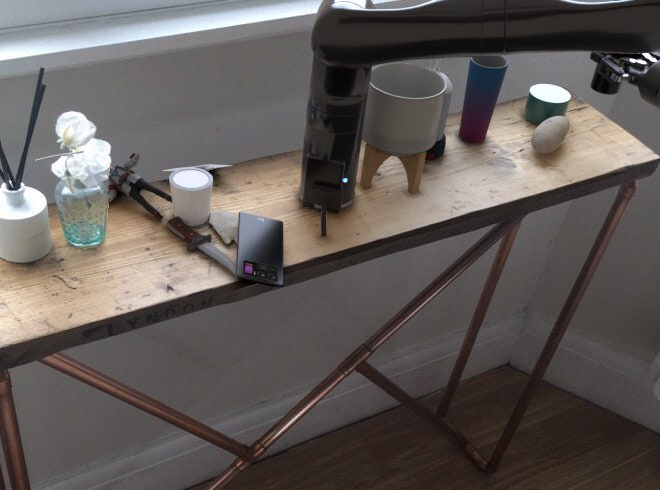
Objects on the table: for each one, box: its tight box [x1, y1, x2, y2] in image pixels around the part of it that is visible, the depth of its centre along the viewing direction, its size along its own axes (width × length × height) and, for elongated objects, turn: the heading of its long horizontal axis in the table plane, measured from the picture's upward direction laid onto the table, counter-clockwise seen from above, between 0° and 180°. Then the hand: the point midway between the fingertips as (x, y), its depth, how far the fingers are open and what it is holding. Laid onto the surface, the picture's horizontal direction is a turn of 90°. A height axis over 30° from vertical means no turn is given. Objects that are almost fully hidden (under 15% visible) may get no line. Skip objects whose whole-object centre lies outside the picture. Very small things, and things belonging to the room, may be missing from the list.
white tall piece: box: [425, 59, 453, 162], centre depth 154 cm, size 8×8×25 cm
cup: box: [458, 55, 510, 144], centre depth 163 cm, size 7×7×15 cm
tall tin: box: [589, 53, 632, 96], centre depth 157 cm, size 5×5×10 cm
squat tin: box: [522, 83, 572, 126], centre depth 174 cm, size 8×8×5 cm
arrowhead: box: [208, 209, 239, 245], centre depth 140 cm, size 7×2×10 cm
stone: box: [530, 116, 571, 155], centre depth 165 cm, size 6×6×12 cm
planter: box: [359, 62, 447, 196], centre depth 149 cm, size 13×13×18 cm
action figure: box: [107, 152, 172, 221], centre depth 142 cm, size 9×7×15 cm
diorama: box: [161, 163, 233, 172], centre depth 151 cm, size 8×12×2 cm
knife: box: [166, 216, 236, 276], centre depth 135 cm, size 17×1×5 cm
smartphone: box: [235, 211, 284, 288], centre depth 135 cm, size 7×15×1 cm, turn 2°
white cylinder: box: [168, 167, 214, 227], centre depth 140 cm, size 7×7×7 cm
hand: (604, 49), depth 158 cm, fingers closed on tall tin, 5 cm apart
